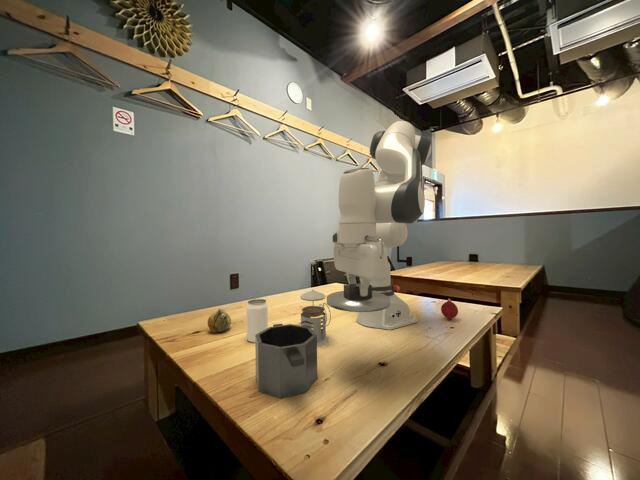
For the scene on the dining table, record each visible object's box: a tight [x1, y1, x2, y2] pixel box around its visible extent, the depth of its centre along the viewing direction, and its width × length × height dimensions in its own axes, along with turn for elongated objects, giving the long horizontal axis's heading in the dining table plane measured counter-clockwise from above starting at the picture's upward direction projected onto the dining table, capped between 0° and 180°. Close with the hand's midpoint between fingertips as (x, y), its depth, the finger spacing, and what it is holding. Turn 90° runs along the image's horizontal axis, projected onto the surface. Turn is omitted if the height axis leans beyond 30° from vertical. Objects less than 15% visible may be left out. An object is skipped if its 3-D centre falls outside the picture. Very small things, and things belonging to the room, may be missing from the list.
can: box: [246, 298, 269, 344], centre depth 79 cm, size 6×6×12 cm
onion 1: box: [207, 308, 232, 333], centre depth 86 cm, size 8×8×8 cm
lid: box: [326, 282, 390, 313], centre depth 60 cm, size 15×15×4 cm
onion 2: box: [440, 298, 459, 321], centre depth 95 cm, size 6×6×8 cm
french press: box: [299, 259, 332, 347], centre depth 77 cm, size 10×12×25 cm
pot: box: [255, 323, 318, 399], centre depth 57 cm, size 13×21×10 cm, turn 20°
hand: (358, 293), depth 60 cm, fingers closed on lid, 3 cm apart
